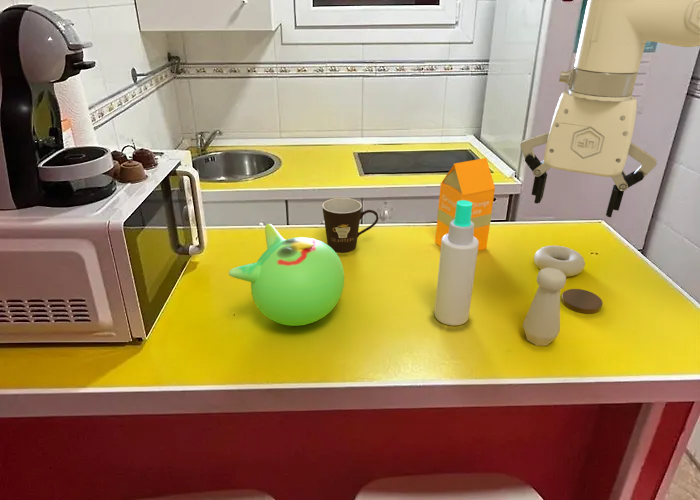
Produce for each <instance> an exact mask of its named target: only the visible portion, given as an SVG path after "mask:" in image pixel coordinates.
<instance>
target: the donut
mask: <svg viewBox="0 0 700 500" xmlns="http://www.w3.org/2000/svg"><path fill="white" fill-rule="evenodd" d="M533 262H534V264H535V265H536V267H537V268H538V269H539V270H542V269H544V268H555V269H558V270H560V271H562V272H563V273H564V274H565V276H566V278H568V277H570V278H571V277H574V276H578V275H579V274H580V273H582V271H583V270H584V269H585V266H586V262H585V259H584V257H583V256H582V254H581V253H580V252H578V251H576V250H575V249H572V248H570V247H566V246H562V245H546V246H542V247H540V248H539V249H537V251H536V252H535V254H534V256H533Z"/></svg>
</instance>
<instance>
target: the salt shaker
mask: <svg viewBox="0 0 700 500" xmlns="http://www.w3.org/2000/svg"><path fill="white" fill-rule="evenodd" d="M566 282H567V277H566V276H565V274H564V273H563V272H562V271H560V270H558V269H555V268H544V269H542V270H541V269H539V271H538V274H537V275H536V283H537V285H538V287H537V290H536V292H535V294H534V297H533V298H532V301H531V304H530V306H529V309H528V311H527V313H526V316H525V318H524V320H523V323H522V328H523V330H524V333H525V338H526V340H527V341H528V342H530V343H531V344H532V345H534V346H539V347H540V346H541V347H547V346H548V345H550V343H552V342H553V341H554V340H556V338H557V337H558V336H559V334H560V331H561V290H562V289H564V288H565V285H566Z"/></svg>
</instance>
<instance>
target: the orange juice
mask: <svg viewBox="0 0 700 500" xmlns="http://www.w3.org/2000/svg"><path fill="white" fill-rule="evenodd" d="M495 193H496V186H495V182H494V180H493V176H492V172H491V169H490V165H489V162H488V158H487V157H483V158H478V159H473V160H472V159H471V160H465V161H461V162H456V163H453V165H452V166H451V168H450V170H449V171H448V173H446V175H445V177H444V178H443V180H442V181H441V182H440V186H439V196H438V207H437V216H436V228H435V229H436V231H435V241H434V243H435V244H436V245H437V246H439V247H440V248H441V241H442V237H443V236H444V235H446V234H449V228H450V222H451V221H452V220H454V219H455V212H456V205H457V201H460V200H466V201H470V202H472V213H471V221H472V222H473V223H474V233H473V236H474V237H475V238H477V240H478V242H479V245H478V252H479V251H482V250H486V249H487V248H488V241H489V233H490V225H491V220H492V215H493V214H492V213H493V205H494V199H495Z"/></svg>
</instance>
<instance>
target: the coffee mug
mask: <svg viewBox="0 0 700 500" xmlns="http://www.w3.org/2000/svg"><path fill="white" fill-rule="evenodd" d="M362 207H363V204H362V202H360V201H358V200H357V199H354V198H348V197H336V198H335V197H334V198H331V199H327V200H325V201H323V203H322V205H321V209H322V214H323V222H324V229H325V236H326V242H327V243H326V244H327V245H328V246H330V247H331V248H332V249H333V250H334V251H335V252H336V254H346V253H350V252H353V251H355V250H356V249H357V245H358V244H357V243H358V238H359V237H360V236H361V235H362V234H364V233H366V232H367V231H369V230H371V229H372V228H373V227H374V226H376V224H377V223H378V221H379V214H378V212H377V211H376V210H373V209H366V210H363V211H362ZM368 213H371V214H373V215H374V216H375V220H374V221H373V222H372V223H371V225H369V226H367V227H366V228H364V229H362V230H360V231H359V229H360V224H361V223H360V221H361V220H362V218H363V217H364V216H365V215H366V214H368Z"/></svg>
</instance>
